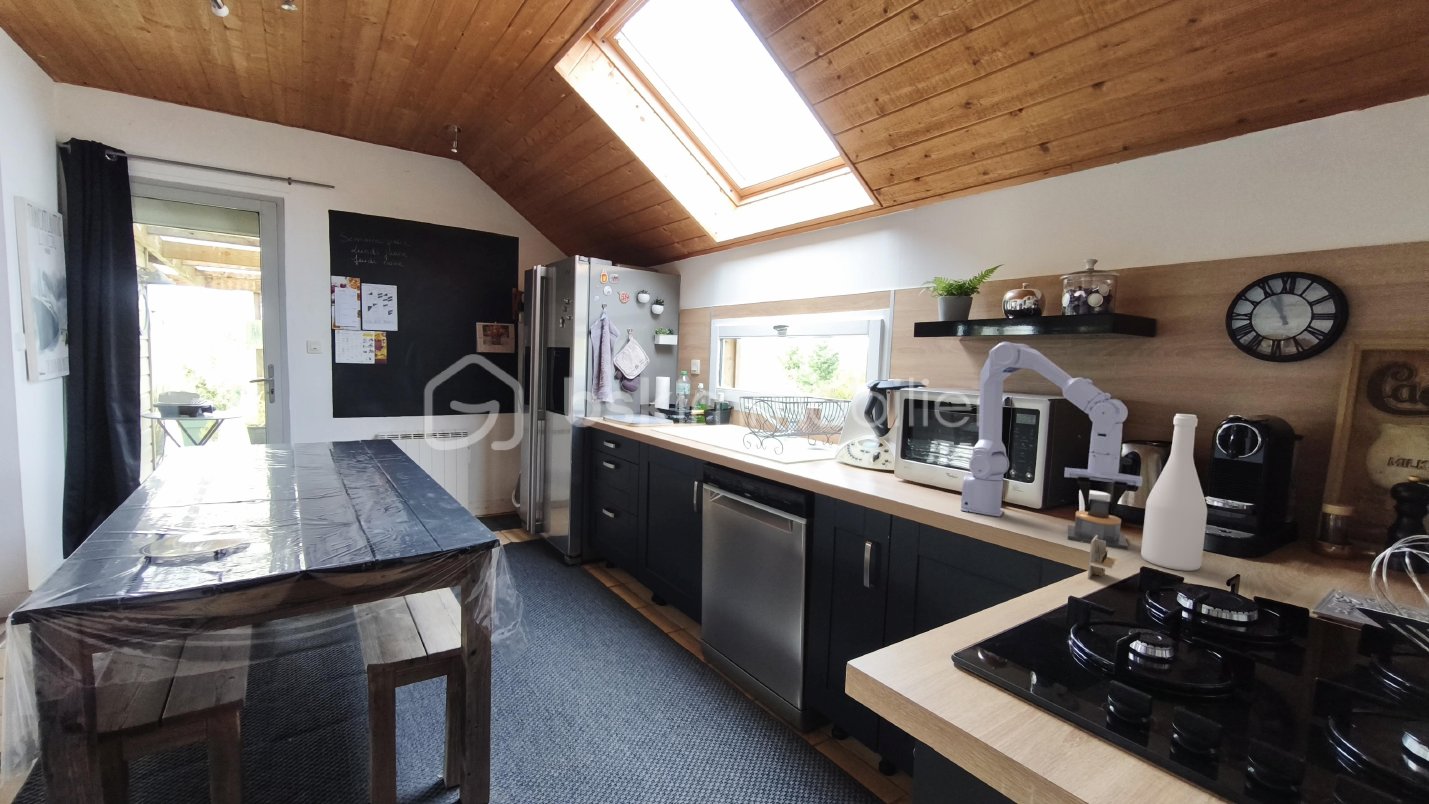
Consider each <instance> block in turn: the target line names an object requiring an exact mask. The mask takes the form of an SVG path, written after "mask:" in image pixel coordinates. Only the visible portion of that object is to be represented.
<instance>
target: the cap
mask: <svg viewBox="0 0 1429 804" xmlns="http://www.w3.org/2000/svg"><path fill="white" fill-rule="evenodd" d="M1110 504H1111V501H1106V500H1102V499H1089V511H1088V512H1085V511H1079V510H1076V512H1075V518H1076V517H1077V518H1079V519H1082V520H1085V521H1089V522H1093V523H1098V524H1105V525H1120V524H1121V523H1122V519H1121V518H1120V517H1118V516H1116V515H1113V516H1112V515H1109V512H1110Z"/></svg>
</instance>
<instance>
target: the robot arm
mask: <svg viewBox="0 0 1429 804" xmlns="http://www.w3.org/2000/svg"><path fill="white" fill-rule="evenodd" d="M1023 369H1029V370H1033V371H1035V372H1036V373H1038V374H1040V375H1041V376H1043V377H1044V378H1046V379H1047V380H1049V382H1052V383H1053V384H1055V385H1056V386H1058V387H1059V388H1060V389H1062V390H1061V391H1062V396H1063V397H1064V398H1065V399H1066V400H1068V401H1069V402H1070V403H1072V404H1073V405H1074V406H1076V407H1077V408H1078V409H1080V410H1081V411H1083V412H1084V413H1085V414H1087V415H1088V418H1089V420H1090V421H1091V422H1092V427H1091V431H1090V432H1091V433H1090V444H1089V453H1088V464H1087V469H1085V468H1072V467H1064V476H1063V477H1064V478H1073V479H1076V480H1077V484H1078V487H1079V490H1081V492H1082V495H1083V499H1084V505H1085V512H1088V511H1089V492H1090V490H1091V480H1092V481H1100V482H1107V483H1111V494H1110V495H1111V496H1110V502H1111V504H1110V512H1109V515H1112V516H1114V513H1115V511H1116V508H1117V506H1118V504H1119V501H1120V500H1121V498H1122V496H1123V495H1124V494H1125V493H1126V491H1127V490H1128V485H1130V486H1136V487H1143V480H1144V479H1143V477H1142V476H1139V475H1134V474H1133V475H1132V474H1125V473H1119V468H1120V467H1119V466H1120V459H1121V458H1120V457H1121V449H1122V448H1121V447H1122V440H1123V439H1122V438H1123V425H1124V424H1123V423H1124V422H1125V421H1126V419H1127V418H1128V415H1129V412H1128V410H1129V409H1128V407H1127V406H1126V405H1125V404H1124V403H1123V401H1122V400H1120V399H1116V398H1111V397H1112V395H1111V394H1110V393H1109V392H1103V391H1102V390H1101V389H1099V388H1098V387H1096V386H1095V385H1093V383H1094V381H1092V380H1091V379H1090V378H1083V377H1075V378H1073V377H1072V376H1071V375H1069V374H1068V373H1067V372H1065V370H1063V369H1061V368H1060V367H1059V366H1058V365H1057V364H1055V363H1054V362H1053V361H1051V360H1050V359H1049V358H1047V357H1046V356H1045V355H1044V354H1042V353H1041V352H1040V351H1038V350H1037V349H1035V348H1032V347H1031V346H1030V345H1027V344H1026V343H1014V342H1009V341H1002V342H1000V343H998V344H996V345H995V346H994V347H993V348H991V349H990V350H989V351H988V358H987V359H986V361H985V363H984V365H983V367H982V369H981V370H980V375H979V410H978V411H979V415H978V417H979V418H978V419H979V421H978V441H977V442H976V444H975V445H974V447H973V448H972V455H971V457H970V459H969V462H968V468H969V471H970V472H971V474H972V475H966V474H965V475H964V477H963V481H962V491H961V497H960V511H963V512H968V511H969V513H976V514H981V515H987V516H994V517H999V518H1000V517H1001V516H1002V514H1003V512H1004V509H1003V508H1002V507H1001V506H1002V498H1003V486H1004V474H1005V473H1006V472H1008V470H1009V467H1010V461H1009V457H1008V456H1007V451H1006V450H1007V448H1006V447H1005V444H1004V442H1003V440H1002V439H1003V438H1002V435H1003V434H1002V433H1003V403H1004V402H1003V401H1004V400H1003V398H1004V397H1003V395H1004V394H1003V393H1004V381H1005V380H1006V379H1007V378H1008V377H1010V375H1012V374H1013V373H1015V372H1018V371H1020V370H1023Z"/></svg>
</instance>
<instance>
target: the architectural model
mask: <svg viewBox="0 0 1429 804" xmlns="http://www.w3.org/2000/svg"><path fill="white" fill-rule="evenodd" d="M1097 536H1098V535H1096V536H1095V537H1094V538H1093V540H1092V541H1091V543H1090V550H1089V551H1090V552H1089V561H1088V573H1087V579H1088V580H1090V578H1091V577H1092V576H1093V575H1096V576H1099V577H1104V575H1105V574H1106V570H1109V571H1111V570H1112V569H1113V567H1114V566H1115V564H1116V563H1117V559H1116V558H1112V557H1108V553H1109V551H1108V550H1109V549H1107V546H1106V541H1103V540H1098V539H1097Z"/></svg>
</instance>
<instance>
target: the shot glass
mask: <svg viewBox="0 0 1429 804" xmlns="http://www.w3.org/2000/svg"><path fill="white" fill-rule="evenodd" d="M1078 492H1079V493H1078V502H1079V504H1078V505H1079V506H1078V508H1079V510H1078V511H1085V505H1084V499H1083V495H1082V492H1081V489H1079V491H1078ZM1111 495H1112V494H1110V493H1109V492H1105V491H1099V490H1096V489H1095V490H1093V489H1090V492H1089V499H1102V500H1106V501H1109V502H1111Z"/></svg>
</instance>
